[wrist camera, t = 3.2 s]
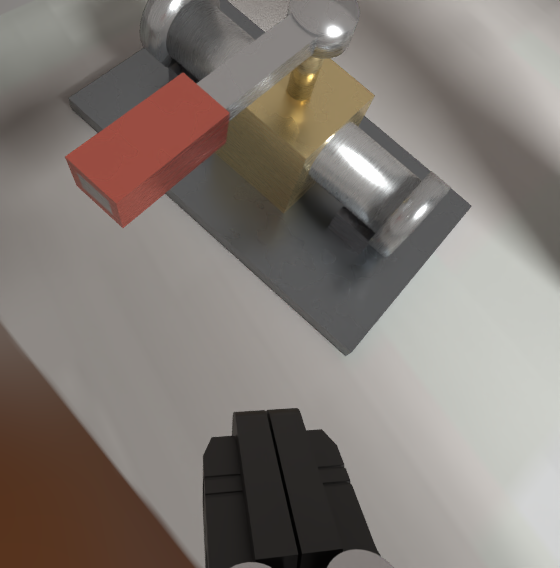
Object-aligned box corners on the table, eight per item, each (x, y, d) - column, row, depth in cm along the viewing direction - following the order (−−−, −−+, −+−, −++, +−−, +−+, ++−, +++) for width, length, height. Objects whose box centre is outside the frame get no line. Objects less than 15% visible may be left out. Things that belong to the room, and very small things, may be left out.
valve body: (463, 212, 39) (575, 115, 28) (345, 355, 34) (426, 306, 22) (220, 8, 42) (233, -157, 31) (72, 109, 36) (20, -49, 25)
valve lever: (312, 0, 27) (322, -37, 25) (361, 40, 27) (375, 6, 25) (70, 179, 21) (57, 150, 19) (129, 234, 21) (123, 210, 19)
